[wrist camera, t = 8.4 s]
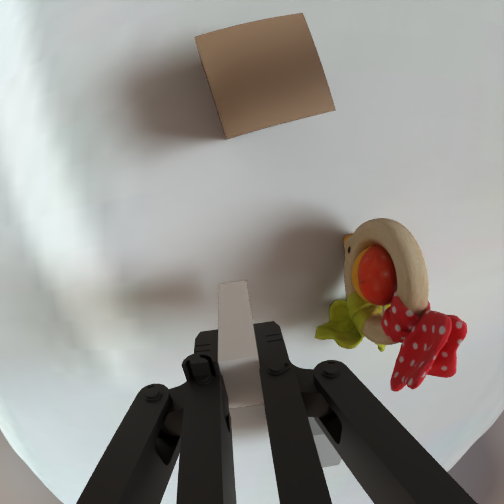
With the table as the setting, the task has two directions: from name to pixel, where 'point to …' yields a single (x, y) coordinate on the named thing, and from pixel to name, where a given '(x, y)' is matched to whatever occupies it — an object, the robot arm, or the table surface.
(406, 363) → the bird rattle
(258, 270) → the table surface
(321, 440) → the grey block
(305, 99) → the walnut block
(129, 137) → the table surface
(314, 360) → the table surface
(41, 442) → the table surface
